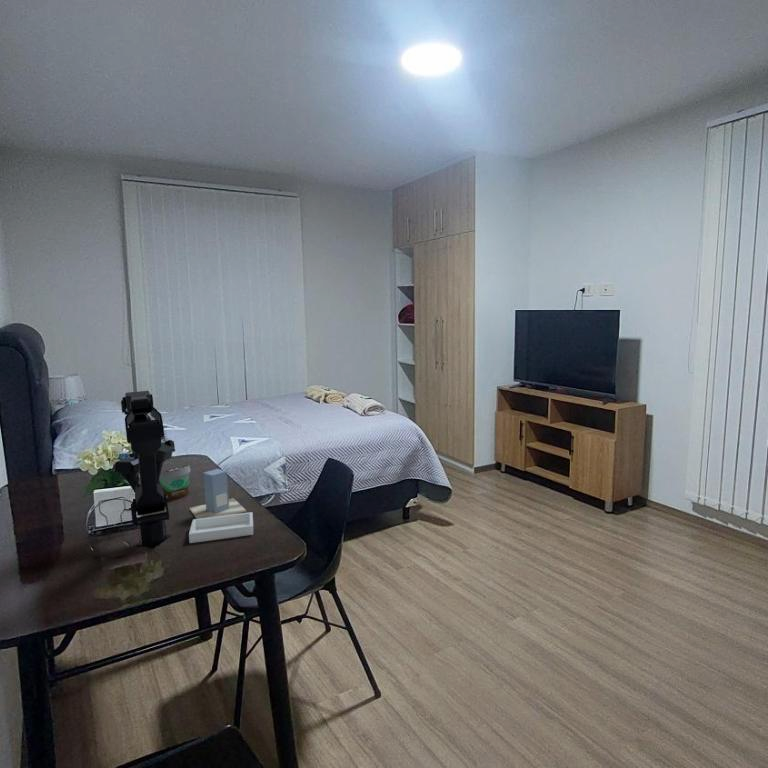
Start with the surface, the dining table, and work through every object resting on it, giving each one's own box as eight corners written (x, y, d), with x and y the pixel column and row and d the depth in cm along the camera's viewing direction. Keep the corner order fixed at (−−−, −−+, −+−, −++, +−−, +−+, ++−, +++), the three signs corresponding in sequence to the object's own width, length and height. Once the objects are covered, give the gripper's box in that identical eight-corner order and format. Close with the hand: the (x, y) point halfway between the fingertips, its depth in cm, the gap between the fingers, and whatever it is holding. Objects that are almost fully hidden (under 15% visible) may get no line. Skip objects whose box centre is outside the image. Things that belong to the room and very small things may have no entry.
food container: (167, 504, 172) (164, 474, 170) (157, 500, 175) (154, 471, 174) (200, 493, 181) (197, 465, 180) (189, 490, 185) (187, 462, 184)
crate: (189, 544, 140) (188, 534, 140) (193, 529, 150) (193, 519, 150) (253, 536, 144) (252, 525, 143) (253, 521, 154) (252, 512, 154)
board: (246, 513, 160) (246, 510, 160) (200, 525, 153) (199, 521, 153) (233, 501, 172) (233, 498, 172) (189, 510, 165) (189, 507, 165)
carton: (215, 513, 159) (212, 475, 157) (206, 509, 162) (203, 472, 161) (229, 508, 163) (226, 471, 161) (220, 505, 166) (217, 468, 164)
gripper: (146, 443, 140) (151, 499, 142) (185, 427, 158) (189, 477, 160) (109, 442, 142) (115, 497, 144) (152, 427, 160) (157, 476, 162)
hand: (147, 486), depth 152 cm, fingers open, 9 cm apart
